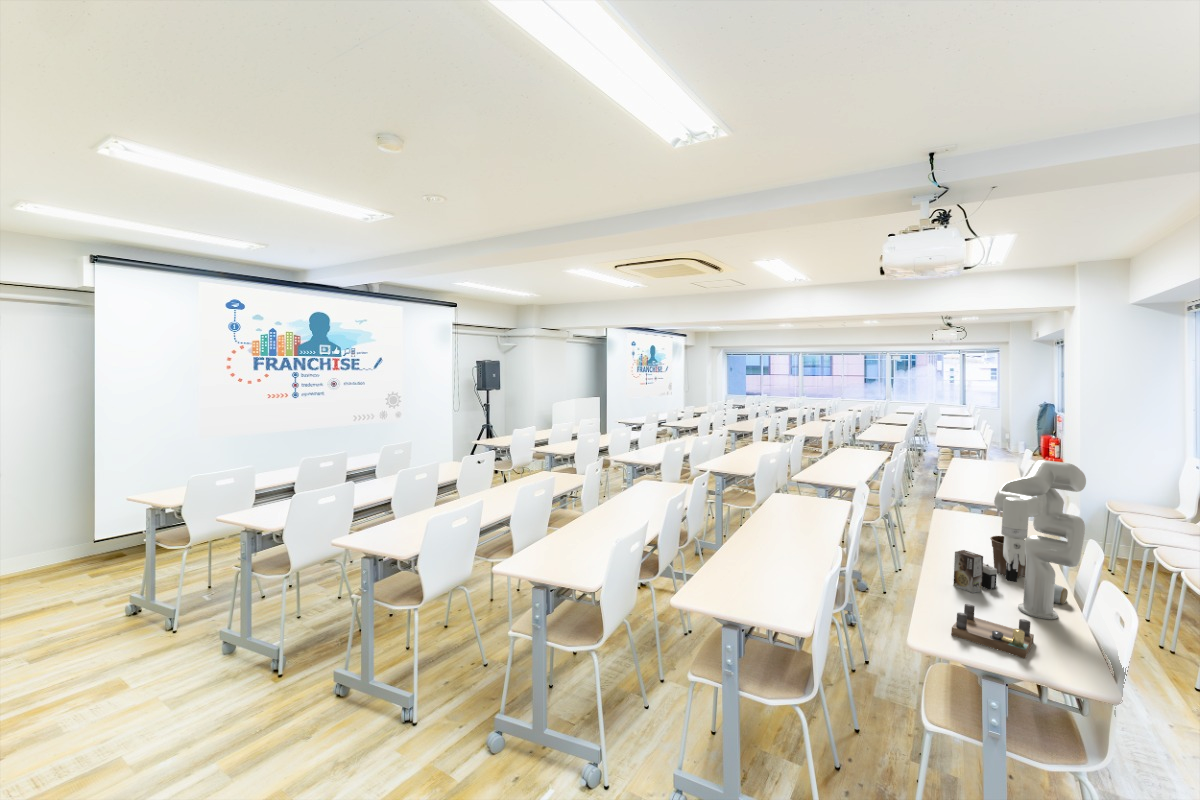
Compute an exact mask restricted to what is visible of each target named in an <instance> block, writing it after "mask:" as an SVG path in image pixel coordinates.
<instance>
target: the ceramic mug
mask: <svg viewBox="0 0 1200 800" xmlns="http://www.w3.org/2000/svg"><path fill="white" fill-rule="evenodd" d="M1067 599H1068V589H1067V588H1065V587H1064V586H1062V585H1058V584H1056V583H1055V589H1054V603H1056V602H1057V603H1056V604H1060V603H1061V605H1064V604H1065V603H1066V601H1067Z"/></svg>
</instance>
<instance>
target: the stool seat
mask: <svg viewBox="0 0 1200 800" xmlns="http://www.w3.org/2000/svg"><path fill="white" fill-rule="evenodd" d="M963 608H964V611H963V612H956V621H955V623H954V624H953V625H952V626H951V633H950V635H951V636H953V637H957V638H959V639H962V640H965V639H966V641H968V640H969V641H968V642H972V643H975V644H979V645H981V644H982V645H981V646H984V645H985V647H987V646H988V648H990V647H991V649H993V648H994V650H997V649H998V650H997V651H1000V652H1004V653H1007V654H1009V653H1010V654H1009V655H1012V654H1013V655H1012V656H1016V657H1019V658H1022V659H1026V658H1027V657H1028V654H1029V652H1030V650H1031V648H1032V646H1033V645H1034V641H1035V640H1034V638H1035V637H1034V636H1035V635H1034V634H1033V633H1031V621H1030V620H1027V619H1024V618H1019V620H1018V629H1021V630H1023V631H1024V632H1025V634H1024V646H1023V647H1018V646H1015V645H1013V644H1012V643H1009V642H1006V641H1003V640H997V639H994V638H993V637H992V631H999V632H1001V633H1003V636H1004V637H1008V638H1011V639H1012V638H1013V629H1014V628H1012V627H1008V626H1006V625H1003V624H1000V623H999V624H998V623H995V622H992V621H989V620H985V619H981V618H979V617H975V605H973V604H971V603H965V604H964V607H963Z"/></svg>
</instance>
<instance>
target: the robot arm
mask: <svg viewBox="0 0 1200 800" xmlns="http://www.w3.org/2000/svg"><path fill="white" fill-rule="evenodd" d="M1086 484H1087V478H1086V474H1085V473H1084V472H1083V471H1082V470H1081V469H1080V468H1079V467H1078V466H1076V465H1075V464H1072V463H1069V462H1060V461H1053V460H1041V459H1040V460H1037V461H1035V462H1033V464H1031V466H1030V468H1029V469H1028V470H1027V472H1026V473H1025V475H1024V477H1020V478H1017V479H1014V480H1010V481H1008V482H1005V483H1004V484H1003V485H1002V486H1001V487H999V489H998V491H997V492H996V495H995V496H994V501H993V503H994V507H995V508H996V509H997V510H999V511H1001V512H1002V516H1001V517H1002V518H1001V536H1004V545H1003V556H1004V558H1005V560H1006V568H1007V569H1006V576H1005V575H1004V577H1005V578H1004V579H1005V580H1006V582H1012V583H1017V582H1018V577H1017V576H1018V564H1019V563H1020V564H1021V565H1022V566H1024V565H1025V556H1026V570H1025V576H1024V589H1023V602H1021V603H1019V604H1018V606H1017V608H1018V611H1020V612H1022V613H1023V614H1026V615H1028V616H1031V617H1033V618H1039V619H1043V620H1056V619H1058V617H1059V614H1058V612H1057V611H1056V610H1054V603H1055V602H1054V589H1055V584H1056V572H1055V569H1054V567H1053V566H1052V564H1054V565H1055V564H1056V565H1060V566H1064V567H1069V568H1075V567H1077V566H1079V564H1080V562H1081V557H1082V553H1083V552H1082V551H1083V547H1084V546H1083V545H1084V540H1085V539H1084V538H1085V534H1086V533H1085V531H1086V524H1085V521H1084V520H1083V518H1081V517H1080V516H1078V515H1074V514H1068V513H1063V510H1064V504H1065V501H1064V499H1063V497H1062V495H1061V494H1060V493H1059V492H1058V491H1057V490H1060V491H1061V490H1062V491H1067V492H1075V493H1077V492H1082V491H1083V490H1084V489H1085V487H1086ZM1029 518H1033V522H1032V524H1033V525H1032V526H1033V528H1034V530H1035V531H1036V532H1038V533H1040V534H1046V535H1049V536H1054V537H1059V538H1064V539H1066V541H1065V540H1062V539H1055V538H1052V537H1048V536H1042V535H1029V536H1028V532H1029V531H1028V529H1029Z"/></svg>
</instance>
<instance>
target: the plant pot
mask: <svg viewBox="0 0 1200 800" xmlns="http://www.w3.org/2000/svg"><path fill="white" fill-rule="evenodd" d="M989 538H990V540H991V547H992V555H993V557H992V558H993V568H995V569H997V572H998V573H997V574H999V573H1000V574H999V575H1002V574H1003V576H1005V575H1006V569H1007V568H1006V560H1005V558H1004V556H1003V545H1004V535H993V536H990V537H989ZM1025 570H1026V556H1025V565H1024V566H1022V565H1021V564H1020V563H1019V564H1018V576H1017V578H1023V577H1024V578H1025Z"/></svg>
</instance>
